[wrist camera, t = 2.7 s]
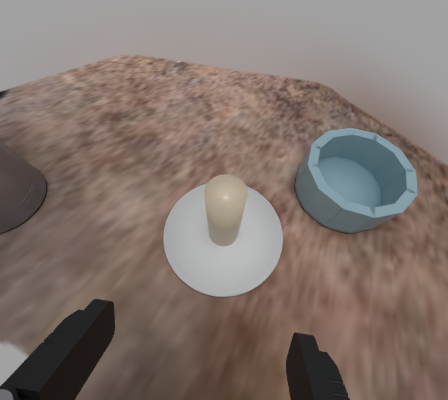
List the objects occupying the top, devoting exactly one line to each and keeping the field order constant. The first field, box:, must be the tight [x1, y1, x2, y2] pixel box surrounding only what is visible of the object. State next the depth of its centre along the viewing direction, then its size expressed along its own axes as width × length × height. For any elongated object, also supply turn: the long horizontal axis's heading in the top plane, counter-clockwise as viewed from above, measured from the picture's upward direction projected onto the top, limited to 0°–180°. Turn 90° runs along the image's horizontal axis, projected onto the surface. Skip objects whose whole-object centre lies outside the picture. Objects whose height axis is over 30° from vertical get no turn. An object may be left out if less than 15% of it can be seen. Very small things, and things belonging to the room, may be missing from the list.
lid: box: [164, 174, 283, 297], centre depth 21 cm, size 13×13×10 cm
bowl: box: [295, 128, 417, 233], centre depth 26 cm, size 11×11×5 cm
